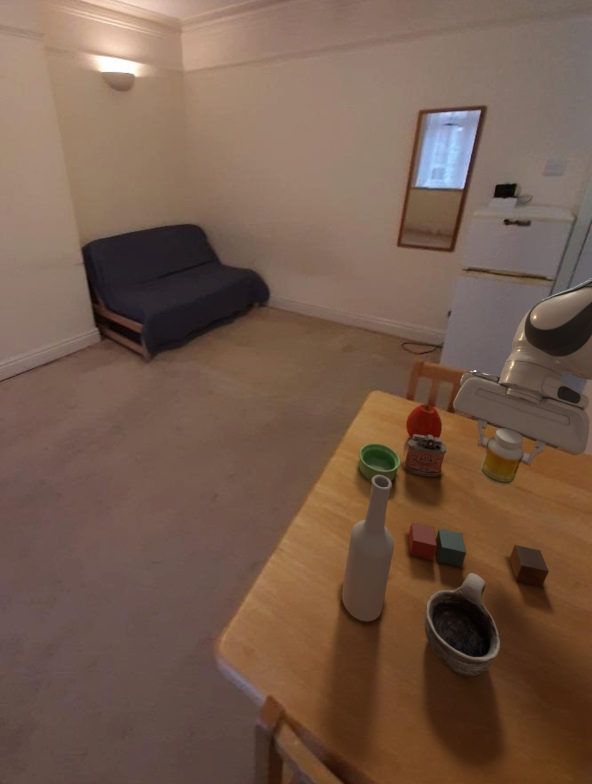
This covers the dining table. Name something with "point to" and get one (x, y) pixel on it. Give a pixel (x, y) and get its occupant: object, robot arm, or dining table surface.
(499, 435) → the supplement bottle
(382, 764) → the dining table surface
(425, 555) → the red cube
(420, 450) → the lighter
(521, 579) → the brown block
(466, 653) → the mug
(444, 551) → the block
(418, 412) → the apple
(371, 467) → the ramekin
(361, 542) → the bottle
